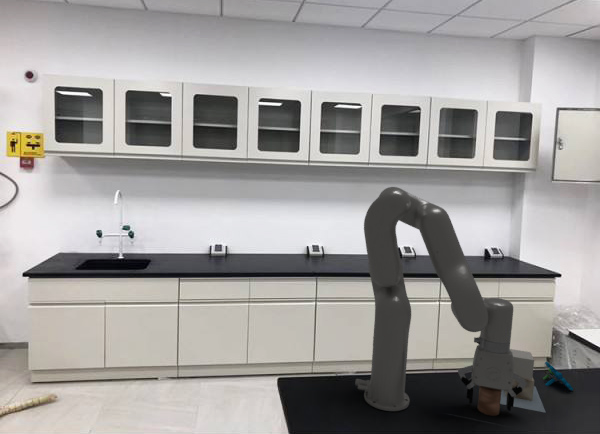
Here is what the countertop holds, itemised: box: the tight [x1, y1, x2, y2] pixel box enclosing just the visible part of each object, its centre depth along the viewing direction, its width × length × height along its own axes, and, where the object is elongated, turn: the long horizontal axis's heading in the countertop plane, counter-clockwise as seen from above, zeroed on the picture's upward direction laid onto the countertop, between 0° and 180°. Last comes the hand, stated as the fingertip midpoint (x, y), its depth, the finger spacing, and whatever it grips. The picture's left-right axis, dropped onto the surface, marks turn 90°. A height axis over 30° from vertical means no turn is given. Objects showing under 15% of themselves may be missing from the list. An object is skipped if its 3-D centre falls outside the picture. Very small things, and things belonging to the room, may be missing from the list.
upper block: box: [510, 348, 535, 380], centre depth 131 cm, size 6×6×6 cm
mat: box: [500, 385, 547, 413], centre depth 132 cm, size 14×16×1 cm
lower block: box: [504, 377, 535, 401], centre depth 132 cm, size 7×7×6 cm
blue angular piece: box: [542, 361, 574, 392], centre depth 138 cm, size 11×6×10 cm
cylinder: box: [477, 386, 502, 417], centre depth 121 cm, size 6×6×7 cm
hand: (489, 404), depth 122 cm, fingers open, 9 cm apart
